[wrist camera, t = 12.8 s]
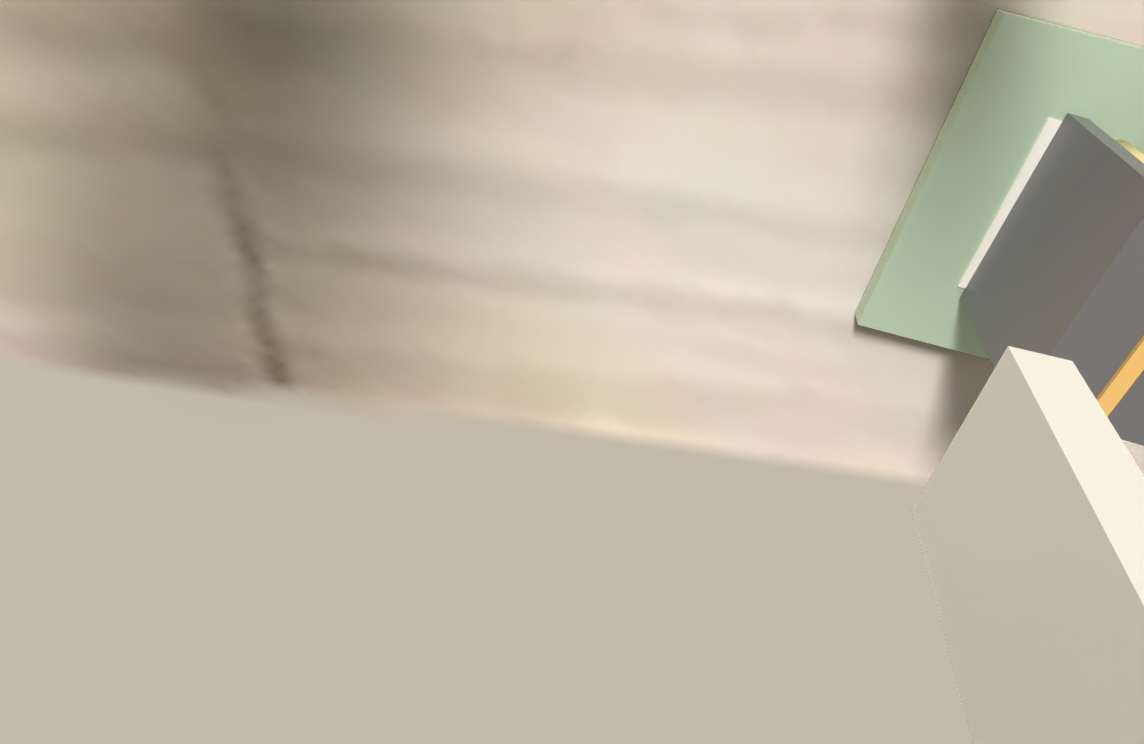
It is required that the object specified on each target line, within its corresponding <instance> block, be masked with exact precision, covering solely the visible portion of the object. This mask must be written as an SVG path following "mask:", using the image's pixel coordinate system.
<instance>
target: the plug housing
mask: <svg viewBox="0 0 1144 744" xmlns="http://www.w3.org/2000/svg"><path fill="white" fill-rule="evenodd" d="M960 300H961V302H962V304H963V306H964V308H965V310H966V312H967V314H968V316H969V318H970V320H971V322H972V324H973V326H974V328H975V330H976V332H977V334H978V336H979V338H980V340H981V343H982V345H983V347H984V349H985V351H986V353H987V355H988V357H989V359H990V361H991V363H992V365H993V367H994V369H995V367H996V366H997V364H998V362H999V360H1000V359H1001V357H1002V355H1003V354H1004V352H1005V350H1006V349H1007V347H1008V346H1011V347H1015V348H1019V349H1023V350H1028V351H1032V352H1036V353H1041V354H1045V355H1049V356H1053V357H1058V358H1062V359H1066V360H1070V361H1073V363H1074V364H1075V366H1076V368H1077V369H1078V371H1079V372H1080V374H1081V376H1082V377H1083V379H1084V380H1085V382H1086V384H1087V385H1088V387H1089V388H1090V390H1091V392H1092V393H1093V395H1094V396H1095V398H1096V400H1097V401H1098V403H1099V405H1100V406H1101V408H1102V409H1103V411H1104V413H1105V414H1106V416H1107V417H1108V419H1109V421H1110V422H1111V424H1112V425H1113V427H1114V429H1115V430H1116V432H1117V433H1118V435H1119V437H1120V438H1121V439H1123V440H1126V441H1130V442H1133V443H1137V444H1140V445H1143V446H1144V163H1142V162H1141V161H1140V160H1139V159H1138V158H1136V157H1135V156H1134V155H1133V154H1131V153H1130V152H1129V151H1128V150H1126V149H1125V148H1124V147H1123V146H1121V145H1120V144H1119V143H1118V142H1116V141H1115V140H1114V139H1113V138H1112V137H1110V136H1109V135H1108V134H1107V133H1105V132H1104V131H1103V130H1102V129H1100V128H1099V127H1098V126H1097V125H1095V124H1094V123H1093V122H1092V121H1091V120H1089V119H1087V118H1084V117H1080V116H1077V115H1073V114H1070V113H1067V114H1066V116H1065V118H1064V120H1063V121H1062V123H1061V125H1060V126H1059V128H1058V130H1057V132H1056V133H1055V135H1054V137H1053V139H1052V140H1051V142H1050V144H1049V145H1048V147H1047V149H1046V151H1045V152H1044V154H1043V156H1042V157H1041V159H1040V161H1039V163H1038V164H1037V166H1036V168H1035V170H1034V171H1033V173H1032V175H1031V176H1030V178H1029V180H1028V182H1027V183H1026V185H1025V187H1024V188H1023V190H1022V192H1021V194H1020V195H1019V197H1018V199H1017V200H1016V202H1015V204H1014V206H1013V207H1012V209H1011V211H1010V213H1009V214H1008V216H1007V218H1006V219H1005V221H1004V223H1003V225H1002V226H1001V228H1000V230H999V231H998V233H997V235H996V237H995V238H994V240H993V242H992V244H991V245H990V247H989V249H988V250H987V252H986V254H985V256H984V257H983V259H982V261H981V262H980V264H979V266H978V268H977V269H976V271H975V273H974V275H973V276H972V278H971V280H970V281H969V283H968V285H967V287H966V288H965V290H964V292H963V293H962V295H961V297H960Z"/></svg>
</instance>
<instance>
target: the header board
mask: <svg viewBox="0 0 1144 744" xmlns="http://www.w3.org/2000/svg"><path fill="white" fill-rule="evenodd" d="M1067 113H1070V114H1073V115H1077V116H1080V117H1084V118H1087V119H1089V120H1091V121H1092V122H1093V123H1094V124H1095V125H1097V126H1098V127H1099V128H1100V129H1102V130H1103V131H1104V132H1105V133H1107V134H1108V135H1109V136H1110V137H1112V138H1113V139H1114V140H1115V141H1116V142H1118V143H1119V144H1120V145H1121V146H1123V147H1124V148H1125V149H1126V150H1128V151H1129V152H1130V153H1131V154H1133V155H1134V156H1135V157H1136V158H1138V159H1139V160H1140V161H1141V162H1142V163H1144V46H1140V45H1136V44H1132V43H1128V42H1124V41H1120V40H1116V39H1113V38H1109V37H1105V36H1101V35H1097V34H1093V33H1089V32H1085V31H1081V30H1078V29H1074V28H1070V27H1066V26H1062V25H1058V24H1054V23H1050V22H1046V21H1043V20H1039V19H1035V18H1031V17H1027V16H1023V15H1019V14H1015V13H1012V12H1008V11H1004V10H1000V9H997V11H996V13H995V16H994V18H993V20H992V22H991V24H990V26H989V28H988V30H987V33H986V35H985V37H984V39H983V41H982V43H981V45H980V48H979V50H978V52H977V54H976V56H975V58H974V60H973V62H972V65H971V67H970V69H969V71H968V73H967V75H966V77H965V80H964V82H963V84H962V86H961V88H960V90H959V92H958V94H957V97H956V99H955V101H954V103H953V105H952V107H951V109H950V111H949V114H948V116H947V118H946V120H945V122H944V124H943V126H942V129H941V131H940V133H939V135H938V137H937V139H936V141H935V143H934V146H933V148H932V150H931V152H930V154H929V156H928V158H927V161H926V163H925V165H924V167H923V169H922V171H921V173H920V175H919V178H918V180H917V182H916V184H915V186H914V188H913V190H912V193H911V195H910V197H909V199H908V201H907V203H906V205H905V207H904V210H903V212H902V214H901V216H900V218H899V220H898V222H897V225H896V227H895V229H894V231H893V233H892V235H891V237H890V239H889V242H888V244H887V246H886V248H885V250H884V252H883V254H882V256H881V259H880V261H879V263H878V265H877V267H876V269H875V271H874V274H873V276H872V278H871V280H870V282H869V284H868V286H867V288H866V291H865V293H864V295H863V297H862V299H861V301H860V303H859V306H858V308H857V310H856V312H855V317H856V321H857V324H858V325H861V326H865V327H869V328H872V329H876V330H880V331H884V332H887V333H891V334H895V335H899V336H903V337H906V338H910V339H914V340H918V341H921V342H925V343H929V344H933V345H937V346H940V347H944V348H948V349H952V350H955V351H959V352H963V353H967V354H971V355H974V356H978V357H982V358H986V359H989V357H988V355H987V353H986V351H985V349H984V347H983V345H982V343H981V340H980V338H979V336H978V334H977V332H976V330H975V328H974V326H973V324H972V322H971V320H970V318H969V316H968V314H967V312H966V310H965V308H964V306H963V304H962V302H961V300H960V297H961V295H962V293H963V292H964V290H965V288H966V287H967V285H968V283H969V281H970V280H971V278H972V276H973V275H974V273H975V271H976V269H977V268H978V266H979V264H980V262H981V261H982V259H983V257H984V256H985V254H986V252H987V250H988V249H989V247H990V245H991V244H992V242H993V240H994V238H995V237H996V235H997V233H998V231H999V230H1000V228H1001V226H1002V225H1003V223H1004V221H1005V219H1006V218H1007V216H1008V214H1009V213H1010V211H1011V209H1012V207H1013V206H1014V204H1015V202H1016V200H1017V199H1018V197H1019V195H1020V194H1021V192H1022V190H1023V188H1024V187H1025V185H1026V183H1027V182H1028V180H1029V178H1030V176H1031V175H1032V173H1033V171H1034V170H1035V168H1036V166H1037V164H1038V163H1039V161H1040V159H1041V157H1042V156H1043V154H1044V152H1045V151H1046V149H1047V147H1048V145H1049V144H1050V142H1051V140H1052V139H1053V137H1054V135H1055V133H1056V132H1057V130H1058V128H1059V126H1060V125H1061V123H1062V121H1063V120H1064V118H1065V116H1066V114H1067ZM989 360H990V359H989Z"/></svg>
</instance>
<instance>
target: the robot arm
mask: <svg viewBox="0 0 1144 744" xmlns="http://www.w3.org/2000/svg"><path fill="white" fill-rule="evenodd" d="M911 512H912V516H913V520H914V523H915V528H916V531H917V535H918V539H919V543H920V546H921V550H922V554H923V558H924V561H925V566H926V569H927V573H928V577H929V580H930V584H931V588H932V592H933V595H934V599H935V603H936V607H937V611H938V615H939V619H940V622H941V626H942V630H943V634H944V637H945V641H946V645H947V649H948V653H949V656H950V660H951V664H952V667H953V671H954V675H955V679H956V683H957V686H958V690H959V694H960V698H961V702H962V706H963V709H964V713H965V717H966V721H967V725H968V728H969V732H970V736H971V740H972V743H973V744H1144V475H1143V474H1142V472H1141V470H1140V469H1139V467H1138V465H1137V464H1136V462H1135V461H1134V459H1133V457H1132V456H1131V454H1130V453H1129V451H1128V449H1127V448H1126V446H1125V445H1124V443H1123V441H1122V440H1121V438H1120V437H1119V435H1118V433H1117V432H1116V430H1115V429H1114V427H1113V425H1112V424H1111V422H1110V421H1109V419H1108V417H1107V416H1106V414H1105V413H1104V411H1103V409H1102V408H1101V406H1100V405H1099V403H1098V401H1097V400H1096V398H1095V396H1094V395H1093V393H1092V392H1091V390H1090V388H1089V387H1088V385H1087V384H1086V382H1085V380H1084V379H1083V377H1082V376H1081V374H1080V372H1079V371H1078V369H1077V368H1076V366H1075V364H1074V363H1073V361H1070V360H1066V359H1062V358H1058V357H1053V356H1049V355H1045V354H1041V353H1036V352H1032V351H1028V350H1023V349H1019V348H1015V347H1011V346H1008V347H1007V349H1006V350H1005V352H1004V354H1003V355H1002V357H1001V359H1000V360H999V362H998V364H997V366H996V367H995V369H994V371H993V372H992V374H991V376H990V377H989V379H988V381H987V383H986V384H985V386H984V388H983V389H982V391H981V393H980V394H979V396H978V398H977V400H976V401H975V403H974V405H973V406H972V408H971V410H970V411H969V413H968V415H967V417H966V418H965V420H964V422H963V423H962V425H961V427H960V428H959V430H958V432H957V434H956V435H955V437H954V439H953V440H952V442H951V444H950V445H949V447H948V449H947V451H946V452H945V454H944V456H943V457H942V459H941V461H940V462H939V464H938V466H937V468H936V469H935V471H934V473H933V474H932V476H931V478H930V479H929V481H928V483H927V485H926V486H925V488H924V490H923V491H922V493H921V495H920V496H919V498H918V500H917V501H916V503H915V505H914V507H913V508H912V510H911Z"/></svg>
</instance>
